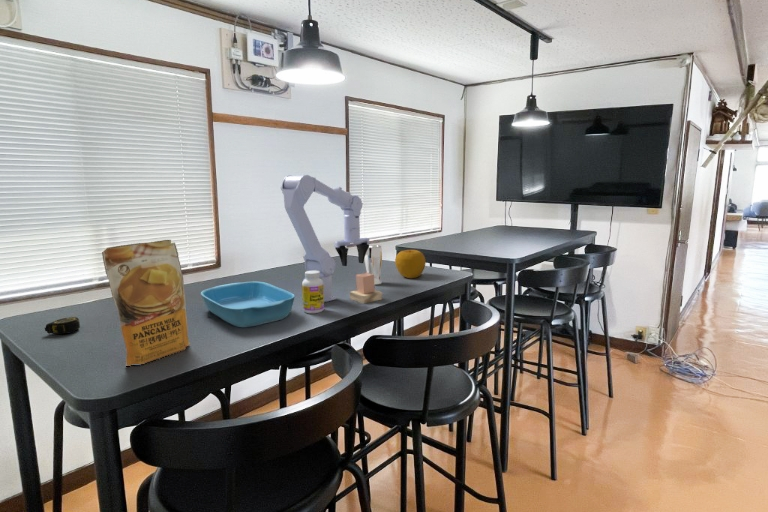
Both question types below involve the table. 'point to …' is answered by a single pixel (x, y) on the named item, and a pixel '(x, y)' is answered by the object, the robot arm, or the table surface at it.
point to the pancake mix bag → (148, 299)
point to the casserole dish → (248, 303)
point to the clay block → (365, 283)
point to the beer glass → (374, 262)
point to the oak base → (365, 296)
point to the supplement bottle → (313, 292)
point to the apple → (410, 263)
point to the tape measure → (63, 325)
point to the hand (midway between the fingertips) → (352, 264)
